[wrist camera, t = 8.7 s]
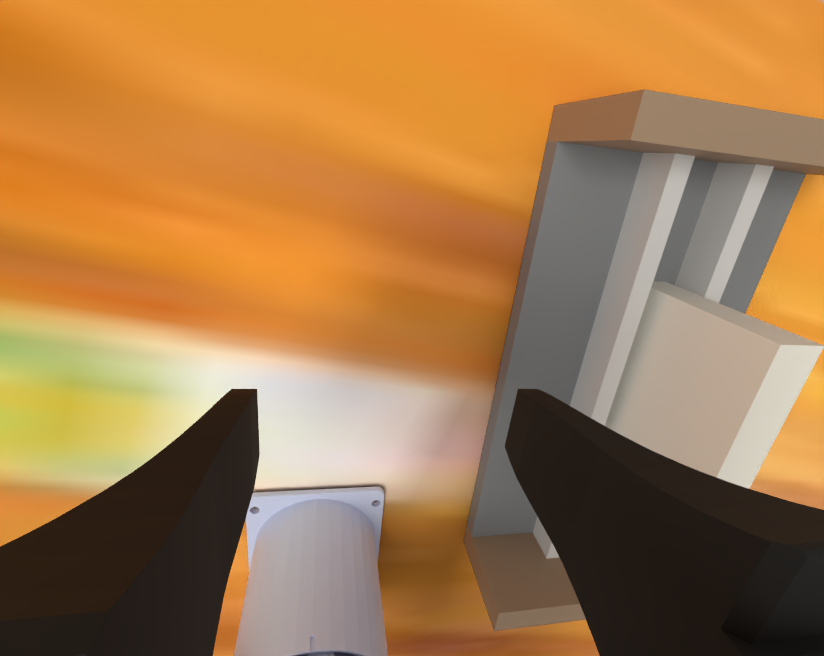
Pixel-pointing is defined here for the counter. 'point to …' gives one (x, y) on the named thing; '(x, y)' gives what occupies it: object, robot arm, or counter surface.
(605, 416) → the cabinet base
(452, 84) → the counter surface
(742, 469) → the door panel
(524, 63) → the counter surface
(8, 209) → the counter surface
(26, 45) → the counter surface
